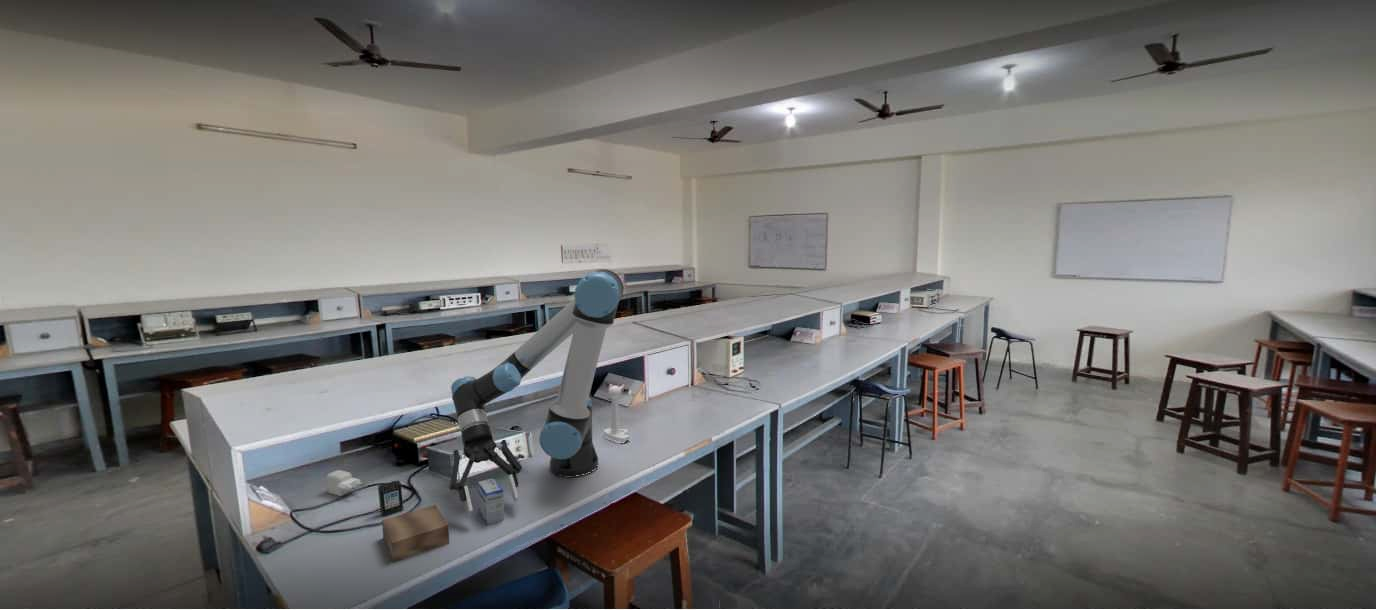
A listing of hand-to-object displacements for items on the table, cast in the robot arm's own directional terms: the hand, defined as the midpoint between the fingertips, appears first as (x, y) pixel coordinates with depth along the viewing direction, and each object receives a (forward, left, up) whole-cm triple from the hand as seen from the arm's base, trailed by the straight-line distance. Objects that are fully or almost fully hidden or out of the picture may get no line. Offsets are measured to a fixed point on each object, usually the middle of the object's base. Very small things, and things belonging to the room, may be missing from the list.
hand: (493, 505), depth 137 cm
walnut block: (+18, -2, -5) cm, 19 cm away
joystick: (-53, -31, -4) cm, 61 cm away
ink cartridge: (+21, -20, -4) cm, 29 cm away
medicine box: (0, -3, -4) cm, 5 cm away
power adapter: (+30, -38, -4) cm, 49 cm away
